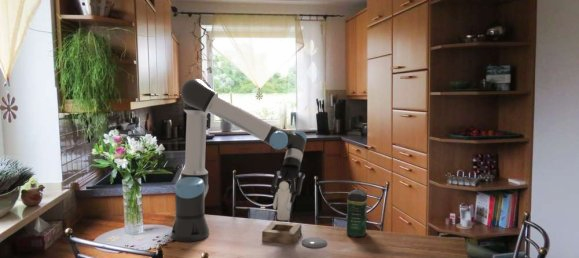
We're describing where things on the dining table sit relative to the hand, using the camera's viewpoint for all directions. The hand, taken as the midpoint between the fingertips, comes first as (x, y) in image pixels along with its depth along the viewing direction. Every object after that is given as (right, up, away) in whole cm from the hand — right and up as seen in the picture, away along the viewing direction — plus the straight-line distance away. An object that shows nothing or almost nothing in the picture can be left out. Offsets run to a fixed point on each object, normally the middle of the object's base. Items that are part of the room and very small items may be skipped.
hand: (281, 208), depth 165 cm
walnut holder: (0, -13, +5) cm, 14 cm away
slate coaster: (+13, -14, -2) cm, 19 cm away
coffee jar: (+32, -13, +10) cm, 36 cm away
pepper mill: (+1, -5, +4) cm, 7 cm away
